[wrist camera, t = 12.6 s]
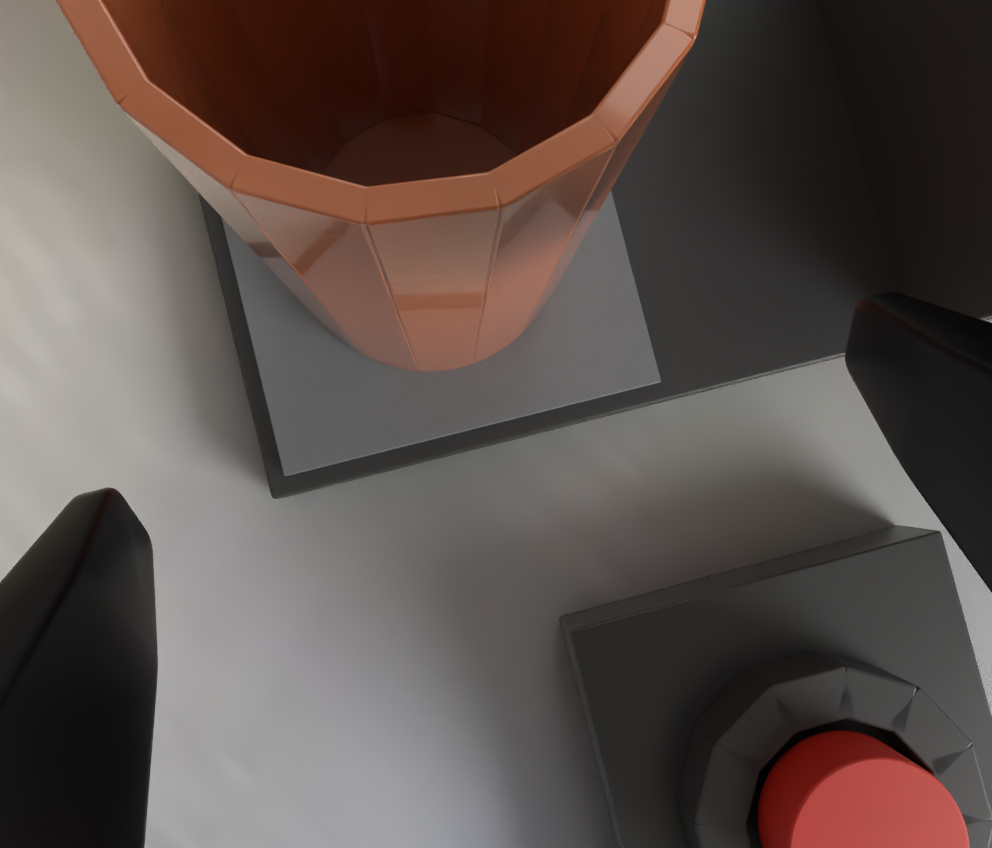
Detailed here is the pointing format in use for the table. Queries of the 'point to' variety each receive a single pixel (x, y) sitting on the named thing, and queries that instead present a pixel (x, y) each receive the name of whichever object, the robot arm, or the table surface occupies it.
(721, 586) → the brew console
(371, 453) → the coffee maker
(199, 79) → the cup
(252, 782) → the table surface
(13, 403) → the table surface
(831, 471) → the table surface
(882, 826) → the button
